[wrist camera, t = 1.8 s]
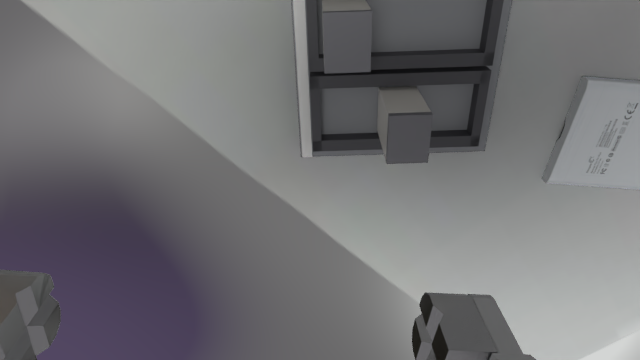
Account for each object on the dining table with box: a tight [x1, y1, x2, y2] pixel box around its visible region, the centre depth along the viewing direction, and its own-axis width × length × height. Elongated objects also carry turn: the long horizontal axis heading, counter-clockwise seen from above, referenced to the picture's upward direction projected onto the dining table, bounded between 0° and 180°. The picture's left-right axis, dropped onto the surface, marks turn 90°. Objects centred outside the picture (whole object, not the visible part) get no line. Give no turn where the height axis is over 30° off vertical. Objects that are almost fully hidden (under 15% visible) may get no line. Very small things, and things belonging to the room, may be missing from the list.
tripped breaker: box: [377, 86, 433, 164], centre depth 27 cm, size 2×3×5 cm
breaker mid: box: [322, 0, 372, 74], centre depth 24 cm, size 2×3×5 cm
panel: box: [291, 0, 512, 157], centre depth 26 cm, size 13×18×2 cm
